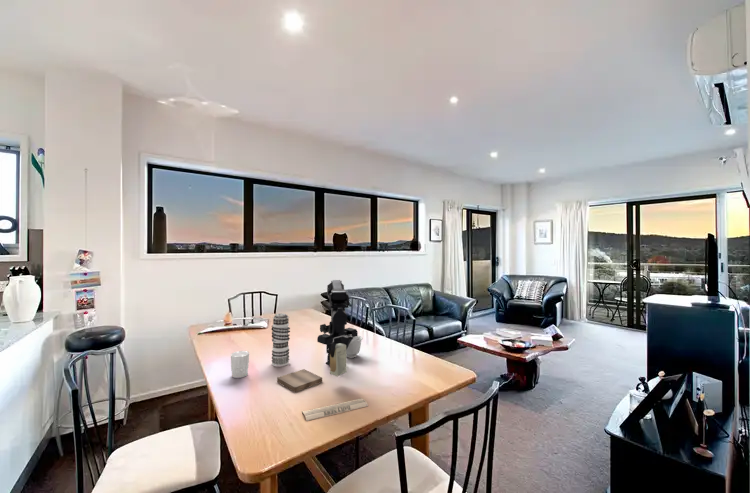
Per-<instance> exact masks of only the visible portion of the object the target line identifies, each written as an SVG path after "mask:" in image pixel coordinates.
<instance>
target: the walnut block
mask: <svg viewBox="0 0 750 493" xmlns="http://www.w3.org/2000/svg"><path fill="white" fill-rule="evenodd" d="M276 382H277V383H278V384H280V385H282V386H283V387H285V388H287V389H289V390H291V391H292V392H293V393H297V392H299V391H302V390H304V389H307V388H310V387H313V386H315V385H317V384H318V385H319V384H320V383H321V384H322V383H323V377H322V376H320V375H318V374H315V373H313V372H311V371H309V370H307V369H305V368H303V369H299V370H297V371H293V372H290V373H287V374H284V375H282V376H277V378H276Z"/></svg>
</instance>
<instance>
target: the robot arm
mask: <svg viewBox="0 0 750 493" xmlns="http://www.w3.org/2000/svg"><path fill="white" fill-rule="evenodd" d="M344 286H345V284H343V283H342V280H341V279H332V280H330V282H329V284H328V285H327V286H326V287H327V288H326V290H327V291H326V295H327V296H328V300H329V308H330V310H331V312H330V314H331V315H330V316H331V317H330V318H331V319H330V321H329V325H326V323H323V324H320V325H319V330H320V333H322V334H319V335H318V336H317V343H319V344H322V345H325V346H326V354H327V357H326V358H327V359H326V362H325V364H326V365H329V366H330V355H331V357H332V358H333V357H334V352H335V347H336V344H338V343H341V344H345V345H346V350H347V348H348V346H349V344H350V342H351V340H352V339H353V337H355V336H359V335H358V334H359V332H358V330H357V328H352V327H346V325H348V315H347V313H346V309H349V306H350V296H349V293H348V292H347V290H346V289H345V287H344ZM327 333H328V334H327ZM351 336H352V337H351Z"/></svg>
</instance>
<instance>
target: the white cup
mask: <svg viewBox="0 0 750 493" xmlns="http://www.w3.org/2000/svg"><path fill="white" fill-rule="evenodd" d="M249 364H250V352H249V351H246V350H239V351H238V350H237V351H234V352H232V353H230V369H231V377H232V378H234V379H240V378H244V377H247V375H248V374H249V373H248V372H249Z"/></svg>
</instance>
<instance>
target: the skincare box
mask: <svg viewBox="0 0 750 493" xmlns="http://www.w3.org/2000/svg"><path fill="white" fill-rule="evenodd" d="M347 368H348V367H347V357H346V345H345V344H341V343H338V344H336V347H335V352H334V357H333V358H332V357H331V355H330V365H329V374H330V375H332V376H335V377H339V376H341V375H342V374H346V373H347Z"/></svg>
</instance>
